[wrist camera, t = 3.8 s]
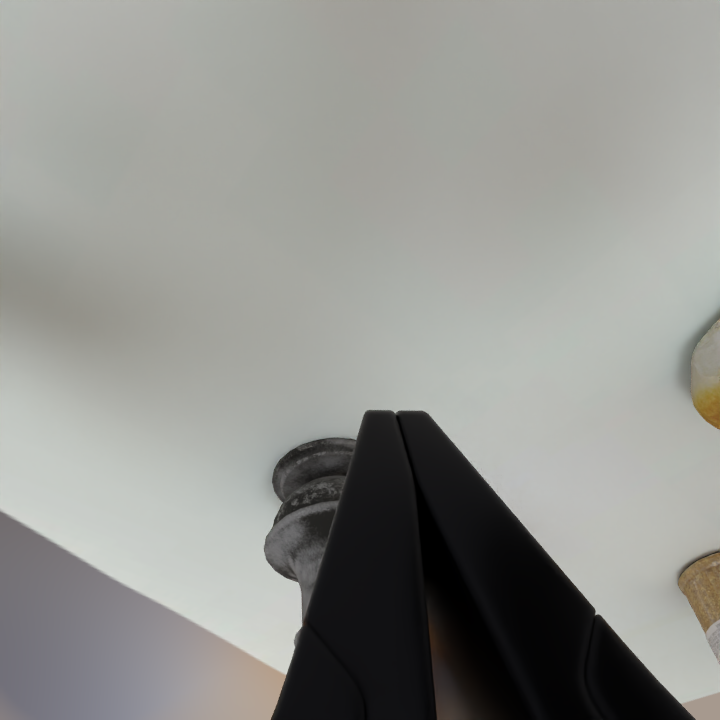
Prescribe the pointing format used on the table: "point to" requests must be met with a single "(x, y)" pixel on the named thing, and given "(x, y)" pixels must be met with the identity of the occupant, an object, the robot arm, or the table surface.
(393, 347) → the table surface
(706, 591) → the sprinkles bottle
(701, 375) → the bread roll
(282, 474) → the grey turned piece
